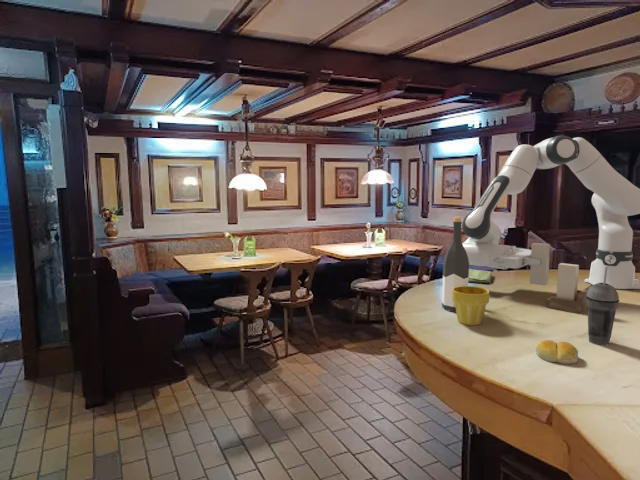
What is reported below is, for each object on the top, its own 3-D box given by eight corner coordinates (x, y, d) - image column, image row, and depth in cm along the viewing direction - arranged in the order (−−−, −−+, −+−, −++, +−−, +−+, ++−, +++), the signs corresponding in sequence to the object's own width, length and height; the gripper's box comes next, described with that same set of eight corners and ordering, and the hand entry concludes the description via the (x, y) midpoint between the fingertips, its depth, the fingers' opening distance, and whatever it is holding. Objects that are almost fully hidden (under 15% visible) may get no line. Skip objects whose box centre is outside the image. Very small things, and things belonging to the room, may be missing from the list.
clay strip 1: (532, 281, 159) (534, 242, 157) (547, 283, 156) (550, 243, 154) (529, 283, 157) (531, 243, 155) (545, 285, 153) (547, 245, 152)
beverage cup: (611, 338, 119) (617, 264, 116) (619, 348, 112) (626, 269, 109) (579, 335, 121) (585, 262, 118) (586, 345, 114) (592, 267, 111)
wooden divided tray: (560, 301, 154) (562, 280, 153) (594, 307, 148) (595, 285, 147) (545, 311, 143) (546, 288, 142) (580, 318, 136) (582, 294, 135)
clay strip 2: (558, 305, 144) (561, 263, 142) (575, 308, 141) (579, 265, 139) (555, 307, 142) (558, 264, 140) (573, 310, 139) (576, 266, 137)
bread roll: (537, 348, 113) (538, 333, 112) (578, 356, 108) (579, 340, 107) (533, 360, 106) (534, 343, 105) (576, 368, 101) (578, 351, 100)
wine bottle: (468, 306, 149) (472, 216, 145) (465, 313, 142) (469, 218, 138) (443, 303, 153) (446, 215, 149) (439, 310, 145) (442, 217, 141)
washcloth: (456, 282, 186) (456, 275, 186) (462, 274, 202) (463, 267, 201) (490, 285, 180) (490, 277, 180) (494, 277, 196) (494, 269, 196)
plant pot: (469, 329, 126) (471, 295, 125) (443, 319, 136) (444, 288, 134) (495, 324, 131) (497, 291, 130) (469, 314, 140) (470, 284, 139)
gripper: (490, 252, 156) (532, 256, 147) (513, 245, 171) (552, 248, 161) (490, 269, 157) (531, 275, 148) (512, 261, 172) (551, 265, 162)
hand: (542, 261), depth 155 cm, fingers closed on clay strip 1, 3 cm apart
